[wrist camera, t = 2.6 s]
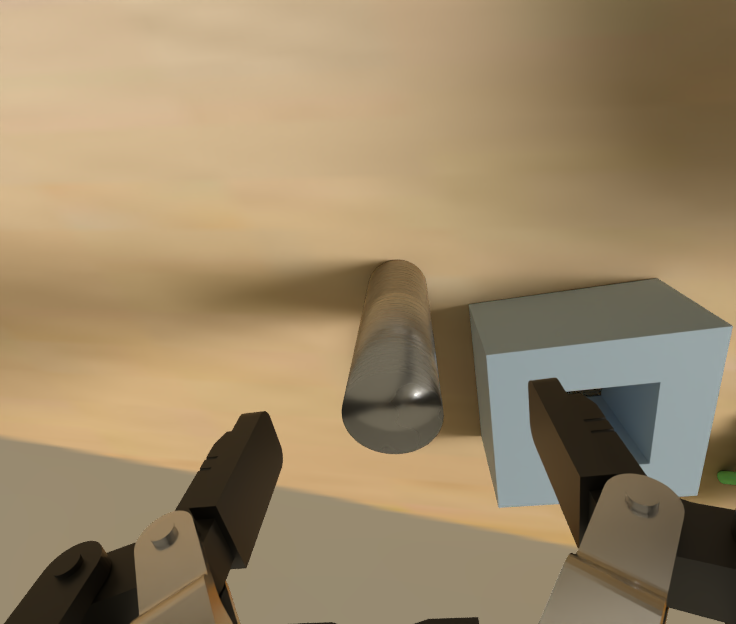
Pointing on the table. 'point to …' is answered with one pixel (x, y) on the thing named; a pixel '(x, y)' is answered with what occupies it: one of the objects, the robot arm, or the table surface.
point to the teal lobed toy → (727, 477)
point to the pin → (394, 365)
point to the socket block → (600, 378)
